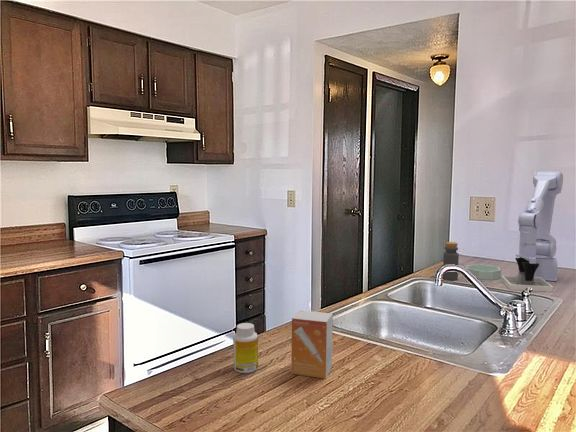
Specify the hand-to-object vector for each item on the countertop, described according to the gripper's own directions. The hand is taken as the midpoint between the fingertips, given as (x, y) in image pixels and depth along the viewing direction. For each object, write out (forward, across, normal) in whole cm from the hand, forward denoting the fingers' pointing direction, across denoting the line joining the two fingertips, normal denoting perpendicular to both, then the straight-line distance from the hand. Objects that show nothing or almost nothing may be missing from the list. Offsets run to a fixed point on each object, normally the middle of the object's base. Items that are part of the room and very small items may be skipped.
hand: (525, 278), depth 179 cm
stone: (+3, 0, 0) cm, 3 cm away
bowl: (+3, -14, -13) cm, 19 cm away
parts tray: (+3, 0, 0) cm, 3 cm away
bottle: (+3, -6, -27) cm, 28 cm away
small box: (+4, +91, -69) cm, 114 cm away
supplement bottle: (+4, +93, -84) cm, 125 cm away
